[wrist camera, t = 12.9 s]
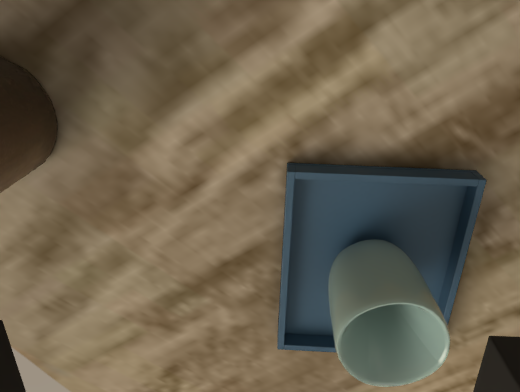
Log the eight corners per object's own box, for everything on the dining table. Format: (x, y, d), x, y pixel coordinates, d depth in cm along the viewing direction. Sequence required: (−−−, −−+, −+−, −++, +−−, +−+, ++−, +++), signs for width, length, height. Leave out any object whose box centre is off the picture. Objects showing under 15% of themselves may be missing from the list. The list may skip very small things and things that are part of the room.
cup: (421, 285, 39) (463, 372, 30) (338, 308, 41) (354, 398, 32) (398, 213, 36) (437, 286, 27) (311, 242, 38) (319, 320, 29)
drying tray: (476, 170, 35) (487, 179, 33) (432, 342, 42) (439, 358, 40) (287, 162, 35) (287, 171, 33) (277, 334, 43) (277, 349, 41)
